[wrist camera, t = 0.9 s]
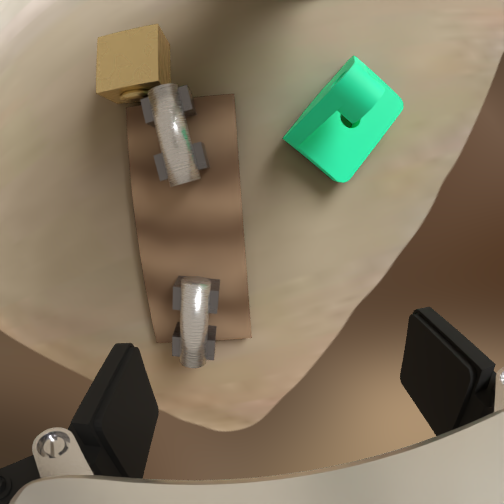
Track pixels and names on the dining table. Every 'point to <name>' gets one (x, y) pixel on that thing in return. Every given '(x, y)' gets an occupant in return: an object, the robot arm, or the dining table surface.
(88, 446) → the robot arm
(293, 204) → the dining table surface
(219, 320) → the shaft bed
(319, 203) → the dining table surface
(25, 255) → the dining table surface
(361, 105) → the camera mount
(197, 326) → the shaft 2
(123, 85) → the gold square block
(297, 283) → the dining table surface
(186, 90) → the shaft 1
